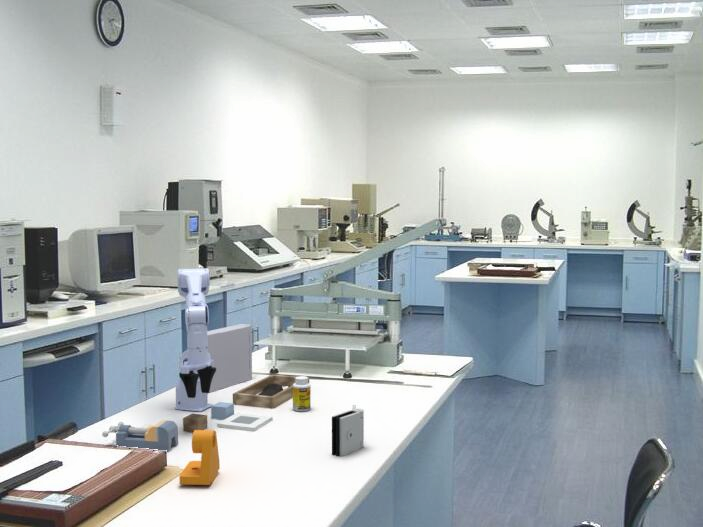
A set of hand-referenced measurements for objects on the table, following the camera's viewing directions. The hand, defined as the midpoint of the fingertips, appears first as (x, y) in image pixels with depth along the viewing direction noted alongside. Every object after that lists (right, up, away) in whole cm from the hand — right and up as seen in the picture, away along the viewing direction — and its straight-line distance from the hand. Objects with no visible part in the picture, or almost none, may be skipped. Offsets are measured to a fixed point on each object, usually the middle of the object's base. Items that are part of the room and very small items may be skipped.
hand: (198, 395), depth 230 cm
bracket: (+8, -14, -39) cm, 42 cm away
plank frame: (+17, -7, +38) cm, 43 cm away
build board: (+12, -9, +7) cm, 17 cm away
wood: (+17, -7, +39) cm, 43 cm away
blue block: (+5, -9, +13) cm, 17 cm away
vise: (-13, -12, -14) cm, 22 cm away
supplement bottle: (+28, -8, +22) cm, 37 cm away
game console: (-1, -6, +52) cm, 53 cm away
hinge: (+43, -12, -16) cm, 47 cm away
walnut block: (-1, -10, +1) cm, 10 cm away
